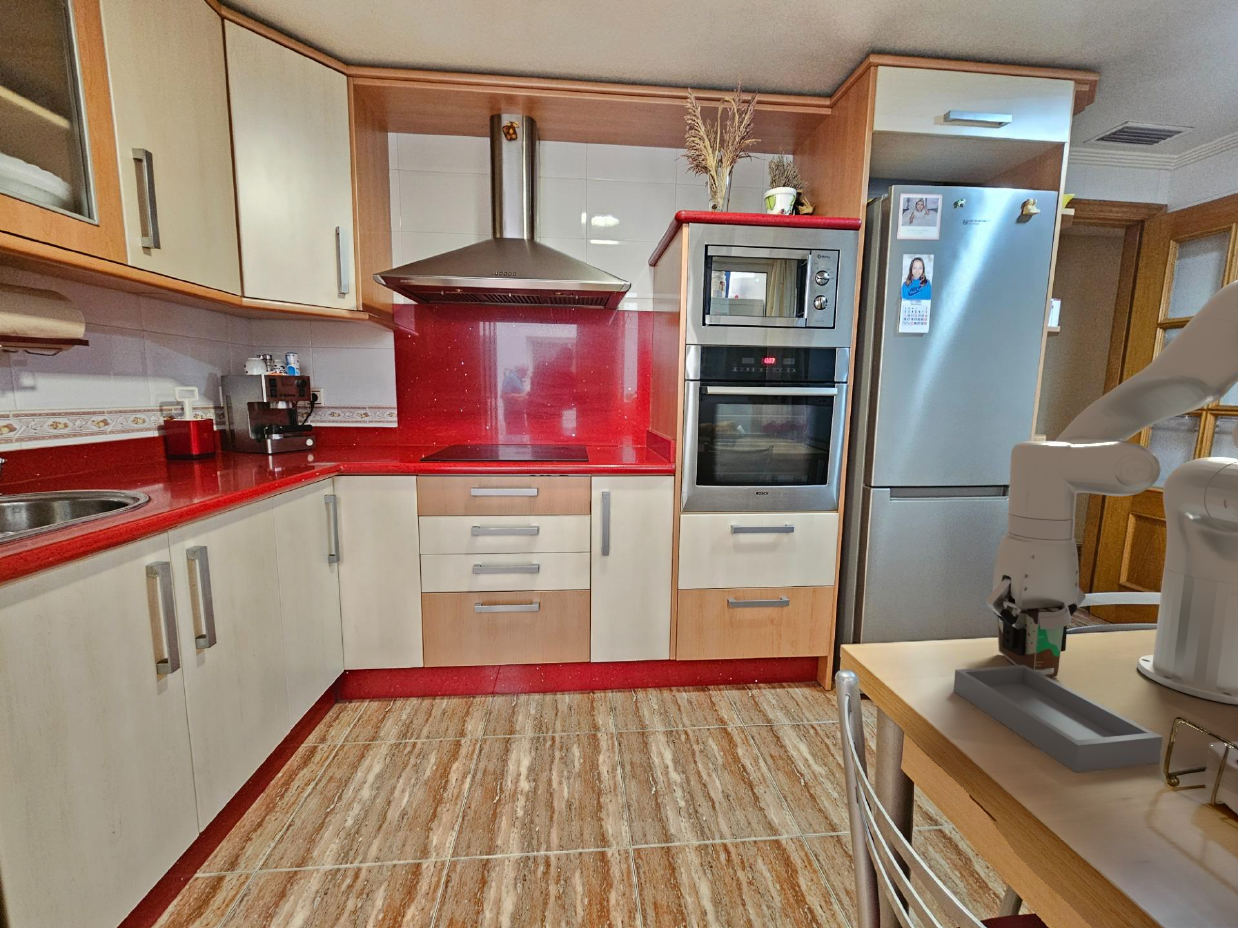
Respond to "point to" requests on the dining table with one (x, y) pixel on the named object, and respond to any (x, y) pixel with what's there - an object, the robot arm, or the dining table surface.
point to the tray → (1058, 718)
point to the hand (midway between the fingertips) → (1033, 648)
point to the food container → (1040, 639)
